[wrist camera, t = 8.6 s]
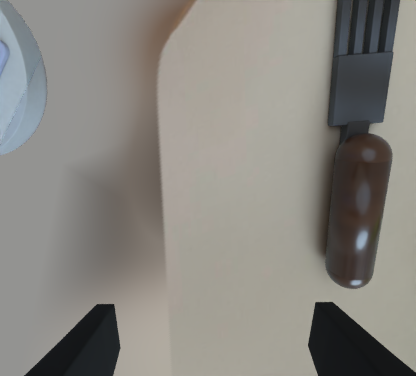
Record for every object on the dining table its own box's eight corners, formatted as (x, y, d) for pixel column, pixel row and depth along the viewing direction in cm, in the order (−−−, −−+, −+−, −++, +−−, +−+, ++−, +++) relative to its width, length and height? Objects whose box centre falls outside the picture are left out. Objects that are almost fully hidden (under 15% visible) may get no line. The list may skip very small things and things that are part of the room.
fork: (355, 269, 19) (381, 296, 16) (315, 272, 19) (335, 300, 16) (399, -49, 13) (455, -95, 10) (341, -45, 13) (379, -89, 10)
